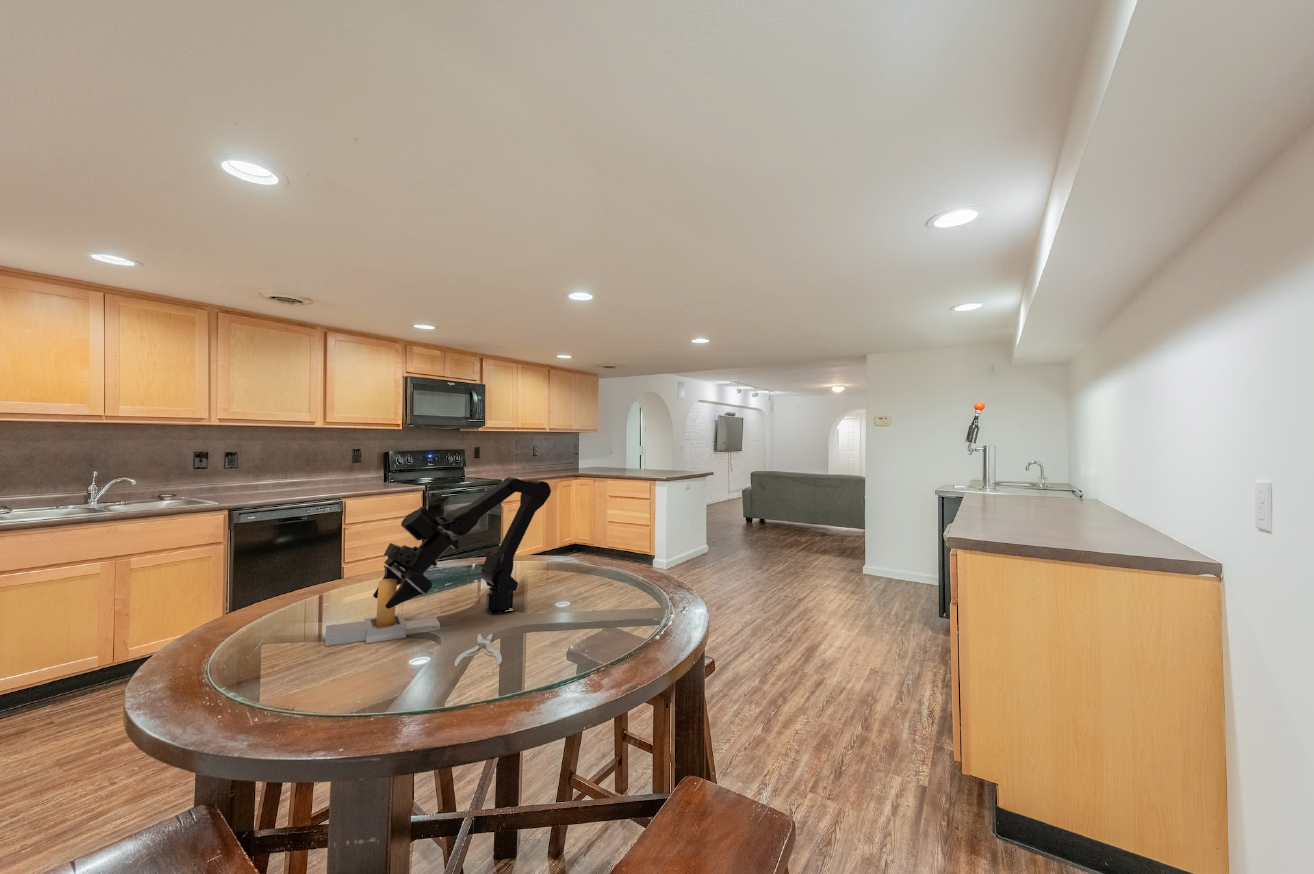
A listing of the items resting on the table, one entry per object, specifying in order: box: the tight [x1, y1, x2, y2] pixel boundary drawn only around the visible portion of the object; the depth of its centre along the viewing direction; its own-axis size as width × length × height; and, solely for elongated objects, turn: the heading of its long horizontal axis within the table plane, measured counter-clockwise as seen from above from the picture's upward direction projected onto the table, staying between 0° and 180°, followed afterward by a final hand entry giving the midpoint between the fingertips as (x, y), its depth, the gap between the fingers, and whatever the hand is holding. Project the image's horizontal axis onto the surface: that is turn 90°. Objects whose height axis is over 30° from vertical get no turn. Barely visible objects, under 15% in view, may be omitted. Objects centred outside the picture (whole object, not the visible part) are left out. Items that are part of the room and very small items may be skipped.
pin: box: [375, 579, 398, 627], centre depth 126 cm, size 4×4×13 cm
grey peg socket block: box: [324, 613, 441, 647], centre depth 126 cm, size 24×8×3 cm, turn 123°
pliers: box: [454, 633, 503, 668], centre depth 119 cm, size 10×2×15 cm
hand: (380, 602), depth 125 cm, fingers open, 9 cm apart
